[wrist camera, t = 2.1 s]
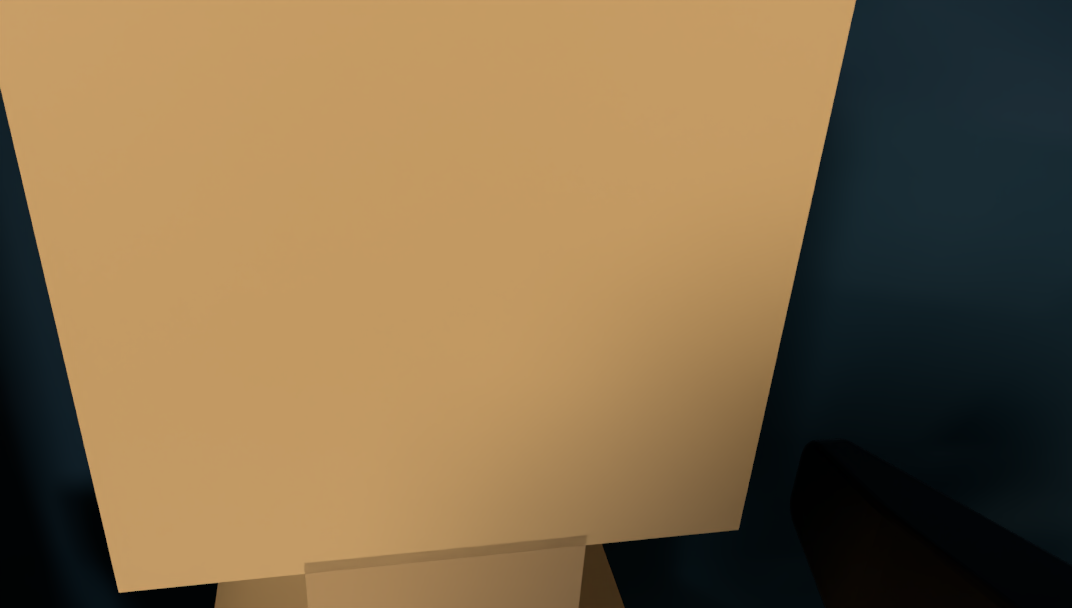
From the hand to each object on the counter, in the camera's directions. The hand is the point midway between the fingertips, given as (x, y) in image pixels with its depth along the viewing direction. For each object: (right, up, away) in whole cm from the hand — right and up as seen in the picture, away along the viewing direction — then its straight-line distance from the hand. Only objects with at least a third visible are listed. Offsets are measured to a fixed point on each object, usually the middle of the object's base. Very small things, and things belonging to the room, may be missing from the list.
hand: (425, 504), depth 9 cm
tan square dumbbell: (0, +1, +1) cm, 1 cm away
